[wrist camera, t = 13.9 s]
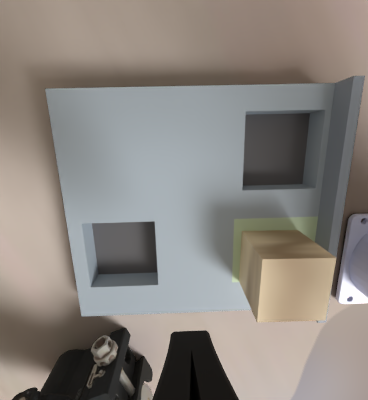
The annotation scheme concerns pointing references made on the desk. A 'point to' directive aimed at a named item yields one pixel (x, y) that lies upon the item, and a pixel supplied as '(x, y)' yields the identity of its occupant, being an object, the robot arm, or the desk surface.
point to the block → (285, 276)
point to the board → (195, 184)
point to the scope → (97, 373)
